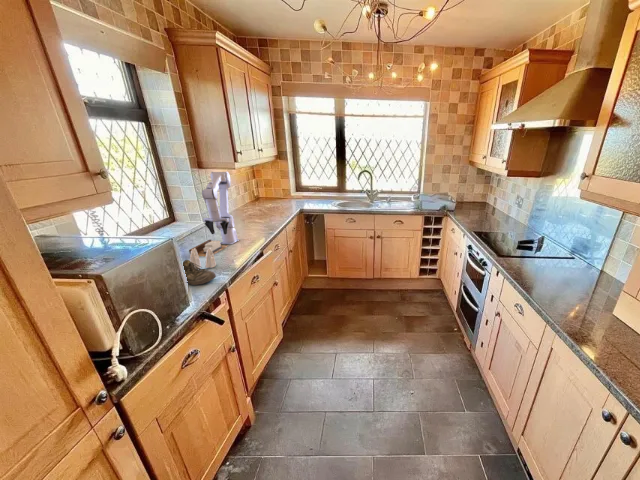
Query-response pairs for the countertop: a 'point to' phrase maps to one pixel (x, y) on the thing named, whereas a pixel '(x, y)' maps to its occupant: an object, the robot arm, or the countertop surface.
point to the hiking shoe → (197, 273)
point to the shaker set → (209, 258)
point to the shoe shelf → (201, 246)
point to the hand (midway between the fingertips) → (219, 233)
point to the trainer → (212, 246)
